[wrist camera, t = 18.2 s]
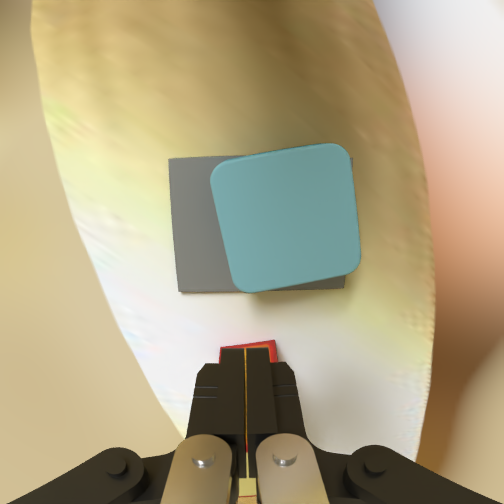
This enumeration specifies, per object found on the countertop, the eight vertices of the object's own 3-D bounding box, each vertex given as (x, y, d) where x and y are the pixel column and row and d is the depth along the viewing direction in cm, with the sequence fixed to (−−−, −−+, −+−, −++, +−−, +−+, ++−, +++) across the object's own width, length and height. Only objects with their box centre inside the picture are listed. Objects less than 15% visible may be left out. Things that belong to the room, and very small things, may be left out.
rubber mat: (169, 158, 30) (168, 158, 29) (350, 157, 30) (352, 158, 29) (179, 289, 34) (178, 291, 34) (342, 285, 34) (343, 288, 34)
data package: (237, 277, 33) (348, 256, 33) (236, 297, 29) (362, 272, 28) (211, 162, 29) (334, 141, 29) (205, 165, 25) (348, 141, 24)
